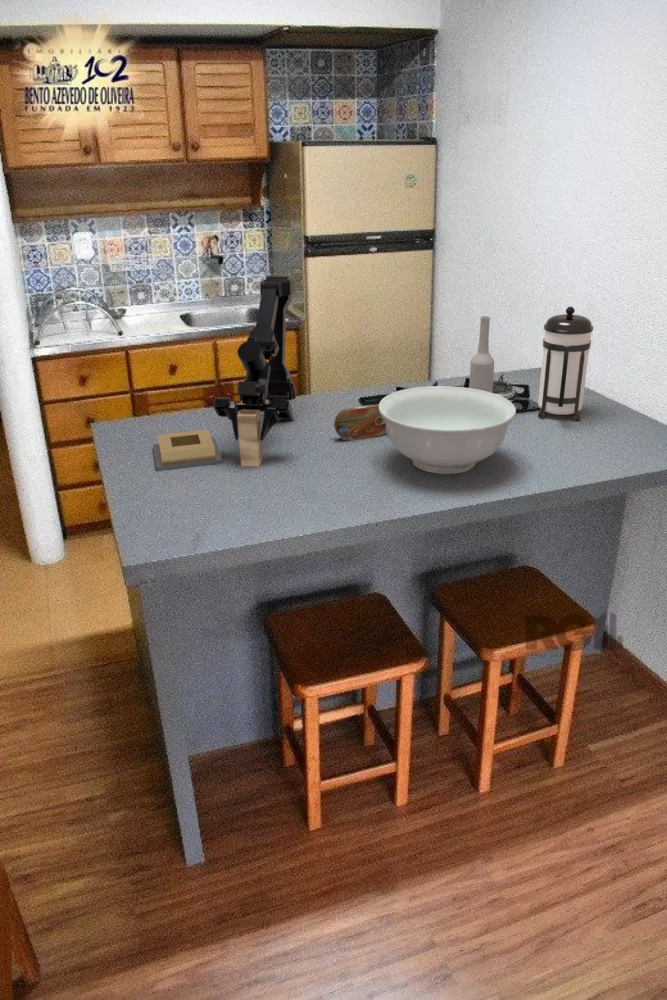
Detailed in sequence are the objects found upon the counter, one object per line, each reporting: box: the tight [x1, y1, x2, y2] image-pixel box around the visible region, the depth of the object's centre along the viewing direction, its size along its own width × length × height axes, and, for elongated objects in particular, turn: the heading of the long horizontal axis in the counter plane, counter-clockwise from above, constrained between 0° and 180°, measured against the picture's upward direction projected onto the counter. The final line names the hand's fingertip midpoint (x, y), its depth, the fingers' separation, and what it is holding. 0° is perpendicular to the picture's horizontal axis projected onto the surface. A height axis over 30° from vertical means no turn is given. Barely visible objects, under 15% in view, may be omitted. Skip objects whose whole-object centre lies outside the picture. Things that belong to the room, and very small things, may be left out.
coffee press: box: [537, 306, 594, 422], centre depth 212 cm, size 17×16×30 cm
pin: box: [237, 410, 264, 468], centre depth 189 cm, size 4×4×13 cm
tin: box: [333, 404, 387, 442], centre depth 205 cm, size 15×3×8 cm, turn 109°
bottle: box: [468, 315, 495, 394], centre depth 213 cm, size 7×7×28 cm
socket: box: [152, 429, 223, 471], centre depth 196 cm, size 16×16×4 cm
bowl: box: [378, 385, 517, 475], centre depth 186 cm, size 32×32×15 cm
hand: (248, 439), depth 188 cm, fingers open, 6 cm apart
